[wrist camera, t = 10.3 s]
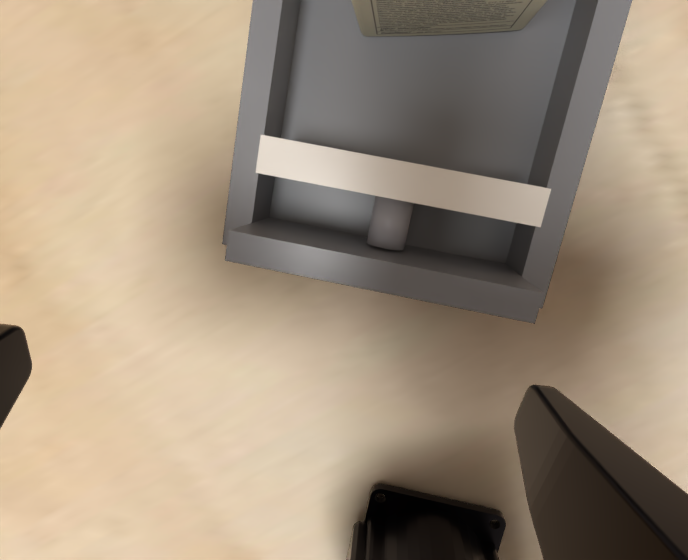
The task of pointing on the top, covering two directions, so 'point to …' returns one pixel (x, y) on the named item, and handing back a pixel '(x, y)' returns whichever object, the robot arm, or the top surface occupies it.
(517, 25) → the skincare box
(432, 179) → the pusher
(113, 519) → the top surface
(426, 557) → the robot arm
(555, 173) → the tray
